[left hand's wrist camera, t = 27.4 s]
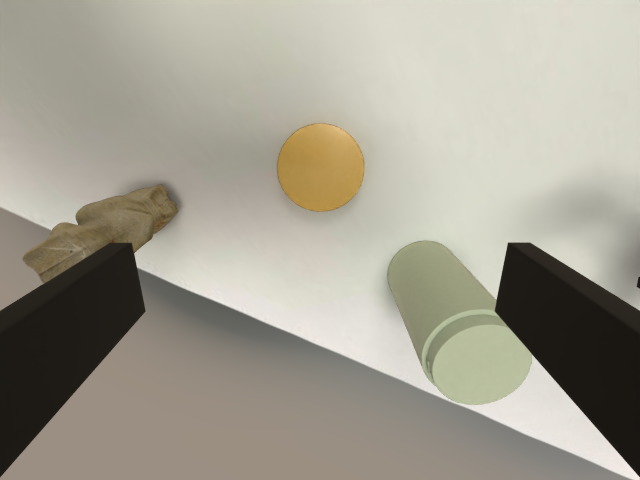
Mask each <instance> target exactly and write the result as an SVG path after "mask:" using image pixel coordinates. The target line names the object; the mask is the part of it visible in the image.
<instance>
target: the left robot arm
mask: <svg viewBox="0 0 640 480" xmlns="http://www.w3.org/2000/svg"><path fill="white" fill-rule="evenodd" d="M144 312H145V307H144V301H143V296H142V291H141V286H140V281H139V276H138V271H137V266H136V261H135V256H134V251H133V246H132V243H109V244H107V245H105V246H104V247H102V248H101V249H99V250H97V251H96V252H94V253H93V254H91V255H89V256H88V257H86V258H84V259H83V260H81V261H80V262H78V263H76V264H75V265H73V266H72V267H70V268H68V269H67V270H65V271H64V272H62V273H60V274H59V275H57V276H56V277H54V278H52V279H51V280H49V281H47V282H46V283H44V284H43V285H41V286H39V287H38V288H36V289H35V290H33V291H31V292H30V293H28V294H27V295H25V296H23V297H22V298H20V299H19V300H17V301H15V302H14V303H12V304H11V305H9V306H7V307H6V308H4V309H2V310H1V311H0V477H1V476H2V475H3V473H4V472H5V471H6V470H7V469H8V468H9V467H10V465H11V464H12V463H13V462H14V461H15V460H16V459H17V457H18V456H19V455H20V454H21V453H22V452H23V451H24V449H25V448H26V447H27V446H28V445H29V444H30V443H31V441H32V440H33V439H34V438H35V437H36V436H37V435H38V433H39V432H40V431H41V430H42V429H43V428H44V427H45V425H46V424H47V423H48V422H49V421H50V420H51V419H52V417H53V416H54V415H55V414H56V413H57V412H58V411H59V409H60V408H61V407H62V406H63V405H64V404H65V403H66V401H67V400H68V399H69V398H70V397H71V396H72V395H73V393H74V392H75V391H76V390H77V389H78V388H79V387H80V385H81V384H82V383H83V382H84V381H85V380H86V379H87V378H88V376H89V375H90V374H91V373H92V372H93V371H94V370H95V368H96V367H97V366H98V365H99V364H100V363H101V361H102V360H103V359H104V358H105V357H106V356H107V355H108V354H109V352H110V351H111V350H112V349H113V348H114V347H115V346H116V344H117V343H118V342H119V341H120V340H121V339H122V337H123V336H124V335H125V334H126V333H127V332H128V331H129V330H130V328H131V327H132V326H133V325H134V324H135V323H136V322H137V320H138V319H139V318H140V317H141V316H142V315H143V313H144ZM495 312H496V314H497V315H498V316H499V317H500V318H501V319H502V320H503V322H504V323H505V324H506V325H507V326H508V327H509V328H510V330H511V331H512V332H513V333H514V334H515V335H516V336H517V338H518V339H519V340H520V341H521V342H522V343H523V344H524V346H525V347H526V348H527V349H528V350H529V351H530V352H531V354H532V355H533V356H534V357H535V358H536V359H537V360H538V362H539V363H540V364H541V365H542V366H543V367H544V368H545V370H546V371H547V372H548V373H549V374H550V375H551V376H552V378H553V379H554V380H555V381H556V382H557V383H558V384H559V385H560V387H561V388H562V389H563V390H564V391H565V392H566V393H567V395H568V396H569V397H570V398H571V399H572V400H573V401H574V403H575V404H576V405H577V406H578V407H579V408H580V409H581V411H582V412H583V413H584V414H585V415H586V416H587V417H588V419H589V420H590V421H591V422H592V423H593V424H594V425H595V427H596V428H597V429H598V430H599V431H600V432H601V433H602V435H603V436H604V437H605V438H606V439H607V440H608V441H609V443H610V444H611V445H612V446H613V447H614V448H615V449H616V451H617V452H618V453H619V454H620V455H621V456H622V457H623V459H624V460H625V461H626V462H627V463H628V464H629V465H630V467H631V468H632V469H633V470H634V471H635V472H636V473H637V475H638V476H639V477H640V311H639V310H638V309H636V308H634V307H633V306H631V305H630V304H628V303H626V302H625V301H623V300H621V299H620V298H618V297H617V296H615V295H613V294H612V293H610V292H609V291H607V290H605V289H604V288H602V287H601V286H599V285H597V284H596V283H594V282H593V281H591V280H589V279H588V278H586V277H584V276H583V275H581V274H580V273H578V272H576V271H575V270H573V269H572V268H570V267H568V266H567V265H565V264H564V263H562V262H560V261H559V260H557V259H556V258H554V257H552V256H551V255H549V254H547V253H546V252H544V251H543V250H541V249H539V248H538V247H536V246H535V245H533V244H531V243H508V246H507V251H506V256H505V261H504V266H503V271H502V276H501V281H500V286H499V291H498V296H497V301H496V306H495Z"/></svg>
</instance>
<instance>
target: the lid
mask: <svg viewBox="0 0 640 480" xmlns="http://www.w3.org/2000/svg"><path fill="white" fill-rule="evenodd" d="M277 171H278V178H279V181H280V184H281V186H282V188H283V190H284V192H285V193H286V194H287V196H288V197H289V198H290V199H291V200H292V201H293V202H295V203H296V204H297V205H299V206H301V207H303V208H305V209H308V210H312V211H330V210H334V209H336V208H339V207H341V206H343V205H344V204H346V203H347V202H348V201H349V200H351V199H352V198H353V196H354V195H355V194H356V192H357V191H358V189H359V187H360V185H361V183H362V180H363V175H364V160H363V155H362V152H361V150H360V148H359V146H358V144H357V143H356V141H355V140H354V139H353V138H352V137H351V136H350V135H349V134H348V133H347V132H345V131H344V130H342V129H341V128H339V127H337V126H334V125H331V124H324V123H318V124H311V125H308V126H305V127H303V128H301V129H299V130H298V131H296V132H295V133H294V134H292V135H291V136H290V137H289V138H288V140H287V141H286V142H285V144H284V145H283V147H282V149H281V151H280V154H279V158H278V164H277Z"/></svg>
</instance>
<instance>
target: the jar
mask: <svg viewBox="0 0 640 480" xmlns="http://www.w3.org/2000/svg"><path fill="white" fill-rule="evenodd" d="M388 283H389V286H390V288H391V291H392V293H393V296H394V298H395V301H396V303H397V306H398V308H399V311H400V313H401V316H402V318H403V321H404V323H405V326H406V328H407V331H408V333H409V336H410V338H411V341H412V343H413V346H414V348H415V351H416V353H417V356H418V358H419V361H420V363H421V366H422V368H423V371H424V373H425V375H426V376H427V378H428V379H429V380H430V382H431V383H433V384H434V385H435V386H436V387H437V388H438V389H439V391H440V392H441V393H442V394H443V395H445V396H446V397H447V398H449V399H451V400H453V401H456V402H458V403H462V404H469V405H479V404H486V403H491V402H494V401H497V400H499V399H502V398H504V397H506V396H507V395H509V394H510V393H512V392H513V391H514V390H516V389H517V388H518V387H519V386H520V385H521V384H522V382H523V381H524V380H525V378H526V376H527V375H528V372H529V370H530V367H531V364H532V354H531V352H530V351H529V350H528V349H527V348H526V347H525V346H524V344H523V343H522V342H521V341H520V340H519V339H518V338H517V336H516V335H515V334H514V333H513V332H512V331H511V330H510V328H509V327H508V326H507V325H506V324H505V323H504V322H503V320H502V319H501V318H500V317H499V316H498V315H497V314H496V312H495V306H496V301H497V300H496V299H495V298H494V297H493V296H492V295H491V294H490V293H489V292H488V291H487V289H486V288H485V287H484V286H483V285H482V284H481V283H480V282H479V281H478V280H477V279H476V278H475V277H474V276H473V275H472V273H471V272H470V271H469V270H468V269H467V268H466V267H465V266H464V265H463V264H462V263H461V262H460V261H459V260H458V259H457V258H456V256H455V255H454V254H453V253H452V252H451V251H450V250H449V249H448V248H447V247H445V246H443V245H442V244H439V243H436V242H432V241H420V242H415V243H412V244H410V245H408V246H406V247H404V248H403V249H401V250H400V251H399V252H398V253H397V254H396V255H395V256H394V258H393V259H392V261H391V263H390V265H389V269H388Z"/></svg>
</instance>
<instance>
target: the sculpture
mask: <svg viewBox="0 0 640 480" xmlns="http://www.w3.org/2000/svg"><path fill="white" fill-rule="evenodd" d="M167 195H168V191H167V190H166V189H165V188H164V186H163V185H158V186H155V187H149V188H143V189H139V190H136V191H133V192H131V193H128V194H126V195H124V196H114V197H111V198H108V199H105V200H102V201H98V202H94V203H90V204H87V205H85V206H83V207H82V208H81V209H80V210H79V211H78V212H77V214H76V220H77V223H78V225H75V224H71V223H65V222H64V223H60V224H58V225H56V226H55V227H54V228H53V230H52V232H51V234H50V236H49V237H48V239H47V240H45V241H44V242H42V243H40V244H39V245H37V246H35V247H34V248H32V249H31V250H29V251H28V252H27V253H26V254H25V255H24V256H23V261H24V262H25V263H26V264H27V266H29V267H30V268H32V269H34V270H35V271H36V272H37V274H38V275H39V277H40V279H41V281H42V282H43V283H46V282H47V281H49V280H51V279H52V278H54V277H56V276H57V275H59V274H60V273H62V272H64V271H65V270H67V269H68V268H70V267H72V266H73V265H75V264H76V263H78V262H80V261H81V260H83V259H84V258H86V257H88V256H89V255H91V254H93V253H94V252H96V251H97V250H99V249H101V248H102V247H104V246H105V245H107V244H109V243H132V246H133V251H134V253H135V252H136V251H137V250H138V249H139V248H140V247H142V246H143V245H144V244H145V243H146V242H148V241H149V240H151V239H152V236H153V234H154V233H156V232H158V231H159V230H161V229H162V228H163V227H164V226H165V225H166V224H167V223H168V222H169V221H170V220H171V219H172V218H173V216H174V215H175V214H176V213H177V212H178V208H177V206H176V204H175V202H174V201H170V200H169V198H168V197H167Z"/></svg>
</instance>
